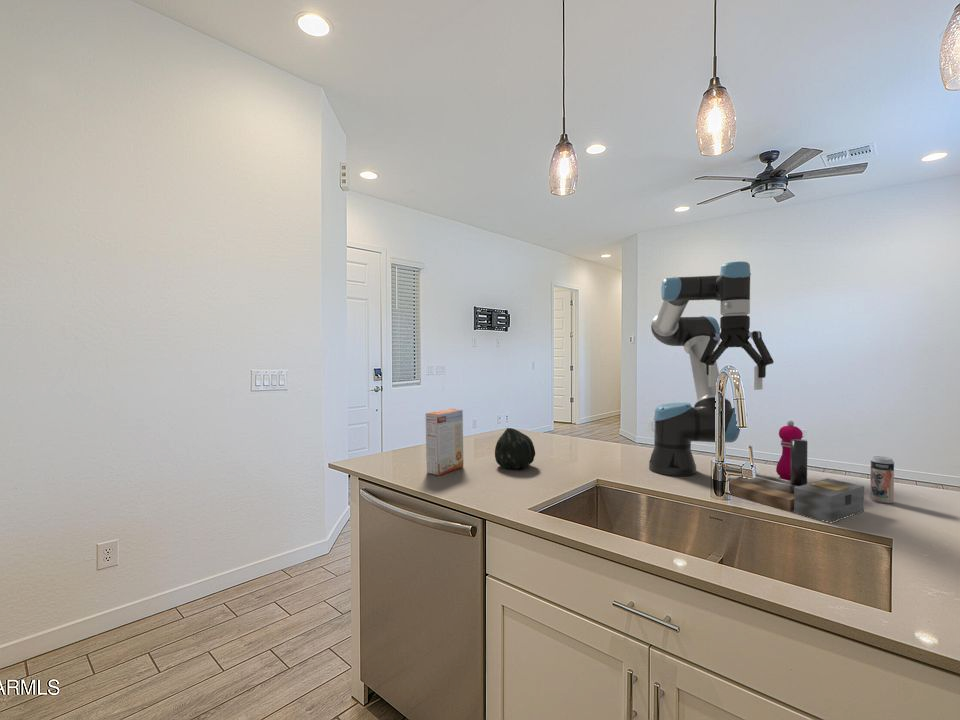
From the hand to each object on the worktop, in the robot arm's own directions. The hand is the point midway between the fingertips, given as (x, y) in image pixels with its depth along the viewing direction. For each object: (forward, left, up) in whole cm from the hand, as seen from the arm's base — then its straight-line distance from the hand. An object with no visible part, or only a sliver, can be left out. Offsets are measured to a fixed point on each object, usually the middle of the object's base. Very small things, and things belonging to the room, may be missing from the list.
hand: (734, 387), depth 129 cm
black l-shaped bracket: (+18, +5, -27) cm, 33 cm away
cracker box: (-63, -65, -31) cm, 96 cm away
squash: (-55, -41, -31) cm, 75 cm away
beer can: (+25, +27, -31) cm, 48 cm away
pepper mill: (+5, +21, -31) cm, 38 cm away
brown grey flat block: (+12, +5, -31) cm, 33 cm away
